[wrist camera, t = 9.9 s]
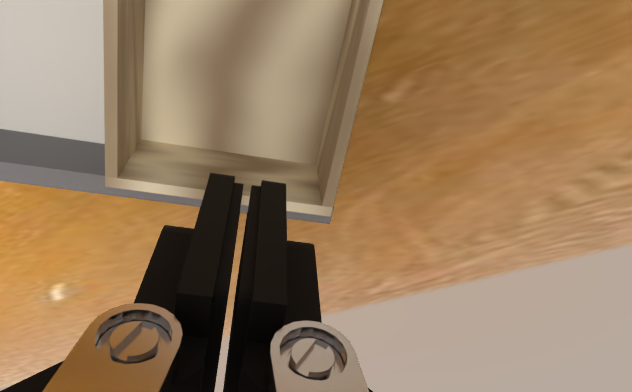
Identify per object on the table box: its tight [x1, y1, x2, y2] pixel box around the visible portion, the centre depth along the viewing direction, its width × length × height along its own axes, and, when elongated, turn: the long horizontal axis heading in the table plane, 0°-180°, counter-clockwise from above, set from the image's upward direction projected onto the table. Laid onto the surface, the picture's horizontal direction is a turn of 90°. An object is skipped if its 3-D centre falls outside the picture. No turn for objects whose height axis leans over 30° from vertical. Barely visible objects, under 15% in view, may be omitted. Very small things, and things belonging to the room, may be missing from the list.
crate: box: [103, 0, 383, 217], centre depth 26 cm, size 12×15×6 cm
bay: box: [0, 0, 334, 224], centre depth 26 cm, size 23×18×5 cm
